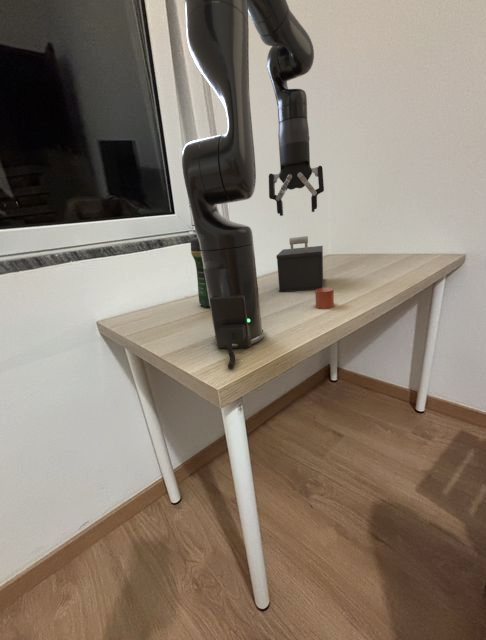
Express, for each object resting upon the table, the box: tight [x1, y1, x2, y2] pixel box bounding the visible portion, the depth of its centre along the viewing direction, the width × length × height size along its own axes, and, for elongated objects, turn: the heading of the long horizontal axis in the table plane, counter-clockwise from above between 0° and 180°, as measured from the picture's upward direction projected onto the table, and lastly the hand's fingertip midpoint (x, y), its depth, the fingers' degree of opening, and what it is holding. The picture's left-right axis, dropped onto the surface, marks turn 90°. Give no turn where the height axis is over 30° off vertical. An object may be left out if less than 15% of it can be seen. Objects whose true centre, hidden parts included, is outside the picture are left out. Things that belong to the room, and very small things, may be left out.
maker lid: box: [276, 235, 324, 259], centre depth 91 cm, size 14×13×5 cm
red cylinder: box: [314, 287, 335, 310], centre depth 73 cm, size 4×4×4 cm
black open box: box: [276, 249, 324, 293], centre depth 94 cm, size 14×13×10 cm
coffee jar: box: [190, 236, 210, 308], centre depth 85 cm, size 10×8×19 cm
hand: (297, 213), depth 83 cm, fingers open, 8 cm apart
